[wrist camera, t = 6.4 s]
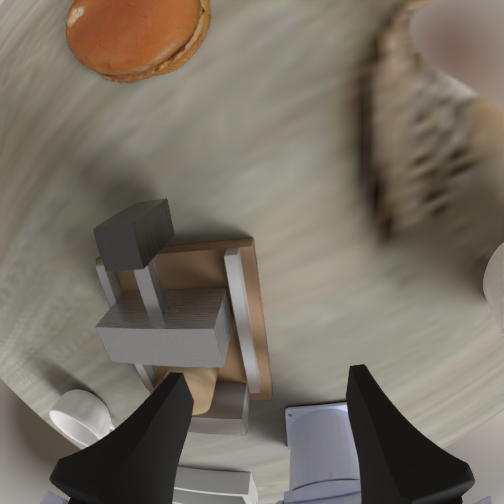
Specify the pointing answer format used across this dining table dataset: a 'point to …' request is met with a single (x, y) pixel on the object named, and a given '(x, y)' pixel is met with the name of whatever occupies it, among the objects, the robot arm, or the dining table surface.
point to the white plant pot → (495, 285)
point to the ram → (158, 298)
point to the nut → (199, 385)
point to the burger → (136, 35)
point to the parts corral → (213, 487)
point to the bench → (243, 331)
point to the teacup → (82, 416)
